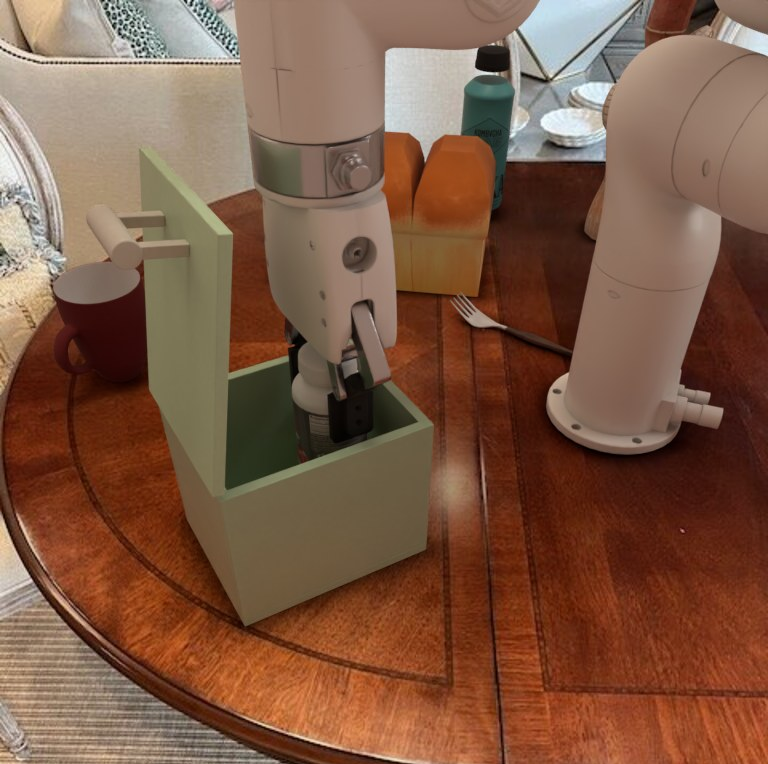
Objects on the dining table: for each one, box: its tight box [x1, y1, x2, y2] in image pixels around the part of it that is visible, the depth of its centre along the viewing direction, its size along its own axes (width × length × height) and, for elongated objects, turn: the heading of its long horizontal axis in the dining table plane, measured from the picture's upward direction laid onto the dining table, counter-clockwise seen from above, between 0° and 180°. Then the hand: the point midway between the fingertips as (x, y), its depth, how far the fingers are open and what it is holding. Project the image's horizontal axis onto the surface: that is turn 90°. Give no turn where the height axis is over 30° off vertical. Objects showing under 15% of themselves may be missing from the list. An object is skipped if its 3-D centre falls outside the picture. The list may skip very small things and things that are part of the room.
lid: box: [85, 146, 234, 497], centre depth 46 cm, size 16×13×5 cm
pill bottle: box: [292, 342, 368, 464], centre depth 57 cm, size 5×5×10 cm
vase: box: [583, 0, 715, 241], centre depth 92 cm, size 10×7×30 cm
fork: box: [449, 292, 574, 357], centre depth 84 cm, size 3×16×2 cm, turn 52°
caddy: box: [158, 339, 435, 627], centre depth 59 cm, size 16×13×13 cm
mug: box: [52, 261, 148, 383], centre depth 75 cm, size 11×8×10 cm
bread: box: [381, 130, 496, 298], centre depth 91 cm, size 25×12×15 cm, turn 81°
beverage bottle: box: [459, 44, 516, 211], centre depth 99 cm, size 6×7×20 cm
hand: (331, 409), depth 57 cm, fingers closed on pill bottle, 5 cm apart
